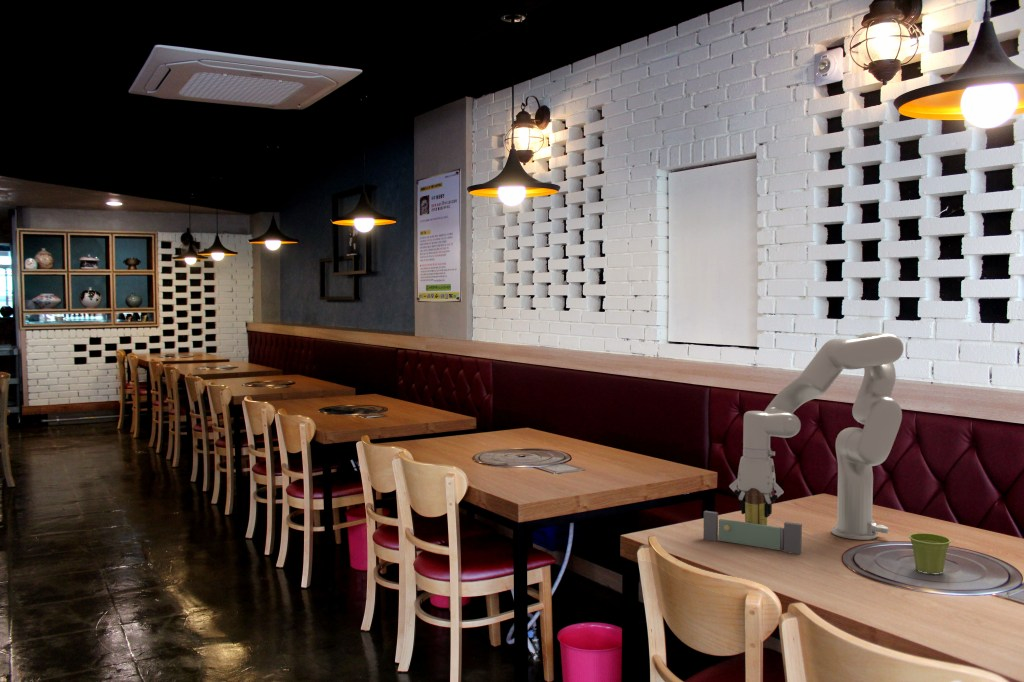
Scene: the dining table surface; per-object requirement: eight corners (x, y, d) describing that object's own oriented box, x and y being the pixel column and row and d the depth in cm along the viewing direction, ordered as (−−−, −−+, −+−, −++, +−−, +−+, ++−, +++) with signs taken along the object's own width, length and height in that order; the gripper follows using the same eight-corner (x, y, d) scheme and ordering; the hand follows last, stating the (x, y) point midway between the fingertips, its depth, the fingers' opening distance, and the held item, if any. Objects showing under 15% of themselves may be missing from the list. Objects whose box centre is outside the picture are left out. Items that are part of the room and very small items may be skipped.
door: (784, 549, 222) (785, 527, 221) (782, 551, 219) (782, 530, 219) (719, 539, 231) (720, 518, 231) (717, 541, 229) (717, 520, 229)
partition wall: (801, 553, 219) (801, 523, 219) (800, 554, 218) (800, 525, 218) (705, 537, 234) (705, 510, 234) (703, 539, 233) (703, 511, 232)
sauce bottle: (764, 534, 238) (766, 467, 237) (769, 540, 232) (770, 471, 231) (742, 533, 239) (743, 466, 238) (746, 539, 233) (747, 471, 232)
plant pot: (934, 580, 198) (935, 545, 197) (900, 569, 206) (901, 535, 206) (958, 574, 202) (959, 540, 202) (924, 563, 210) (924, 531, 210)
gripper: (790, 454, 233) (789, 516, 234) (731, 448, 242) (730, 508, 243) (783, 458, 227) (782, 521, 227) (723, 452, 236) (722, 513, 236)
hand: (755, 514), depth 235 cm, fingers closed on sauce bottle, 6 cm apart
